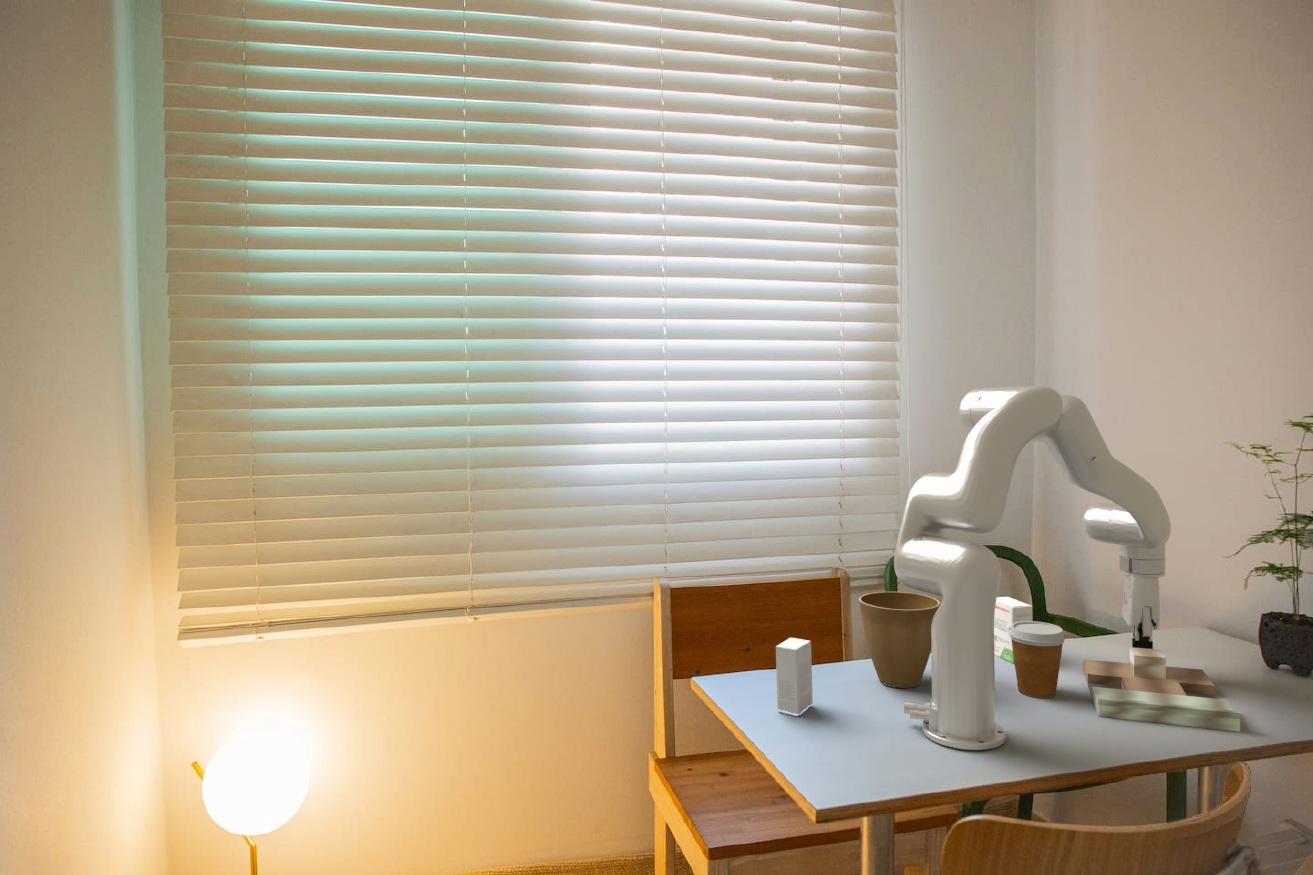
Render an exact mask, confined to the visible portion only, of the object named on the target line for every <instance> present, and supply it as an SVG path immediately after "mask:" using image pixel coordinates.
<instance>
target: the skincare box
mask: <svg viewBox="0 0 1313 875" xmlns="http://www.w3.org/2000/svg"><path fill="white" fill-rule="evenodd" d="M775 663H776V666H775V668H776V694H777V697H776V699H777V700H776V701H777V710H778V709H780V710H785V711H788V712H791V713H796V714H799V713H801V712H802V711H803V710H804V709H806V708H807V707H808V706H809V705H811V704H813V703H814V699H813V669H812V667H813V666H812V664H813V663H812V640H806V639H802V638H797V637H788V638H787V639H786V640H784V641H783V642H780V643H779V644H778V645H775Z"/></svg>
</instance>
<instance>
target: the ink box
mask: <svg viewBox="0 0 1313 875" xmlns="http://www.w3.org/2000/svg"><path fill="white" fill-rule="evenodd" d="M1022 621H1033V605H1031V604H1028V603H1026V602H1023V601H1020V600H1018V599H1015V598H1012V597H1009V596H997V599H996V605H995V616H994V656H997V657H999V658H1000V659H1003V660H1005V661H1007V662H1009V663H1011V664H1014V665H1015V662H1014V655H1013V648H1012V640H1011V638H1010V635H1009V633H1008V631H1009V630H1010V628H1011V625H1012V624H1013V623H1015V622H1022Z"/></svg>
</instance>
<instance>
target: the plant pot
mask: <svg viewBox="0 0 1313 875" xmlns="http://www.w3.org/2000/svg"><path fill="white" fill-rule="evenodd" d="M858 602H859V609H860V616H861V621H862V627H863V630H864V636H865V640H866V644H867V647H868V651H869V654H870V658H871V661H872V665H873V667H874V669H875V672H876V675H877V677H878V680H879V682H880V683H881V682H882V683H881V684H883V683H885V684H887V685H890V686H889V687H891V686H894V687H893V688H896V687H900V688H899V689H910V688H911V687H912V688H915V686H916V687H917V686H919V685H920V683H921V681H922V678H923V675H924V672H925V670H926V668H927V665H928V663H929V659H930V656H931V624H932V620H933V617H934V615H935V613H936V611H937V610H938V608H939V606H940V605H941V602H940V600H938V599H936V598H934V597H933V596H929V595H925V594H922V593H921V594H920V593H914V592H907V591H906V592H905V591H876V592H871V593H870V592H869V593H866V594H863V595H861V596H860V597H858ZM887 685H886V686H887Z"/></svg>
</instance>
